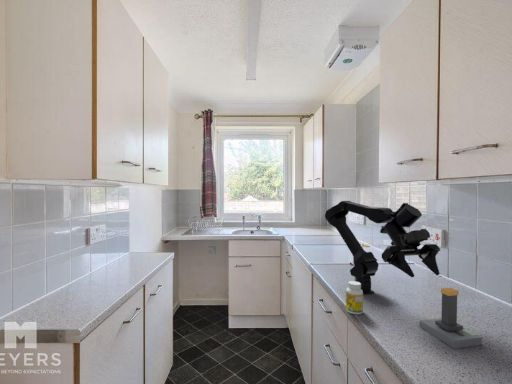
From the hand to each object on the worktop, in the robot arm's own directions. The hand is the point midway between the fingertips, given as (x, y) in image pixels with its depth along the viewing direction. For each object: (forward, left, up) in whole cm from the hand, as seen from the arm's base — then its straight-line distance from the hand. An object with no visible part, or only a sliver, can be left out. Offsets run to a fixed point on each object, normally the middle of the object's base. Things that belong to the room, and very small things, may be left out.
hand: (425, 275), depth 82 cm
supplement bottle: (-11, -18, -15) cm, 25 cm away
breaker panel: (+8, 0, -15) cm, 16 cm away
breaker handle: (+8, 0, -12) cm, 14 cm away
